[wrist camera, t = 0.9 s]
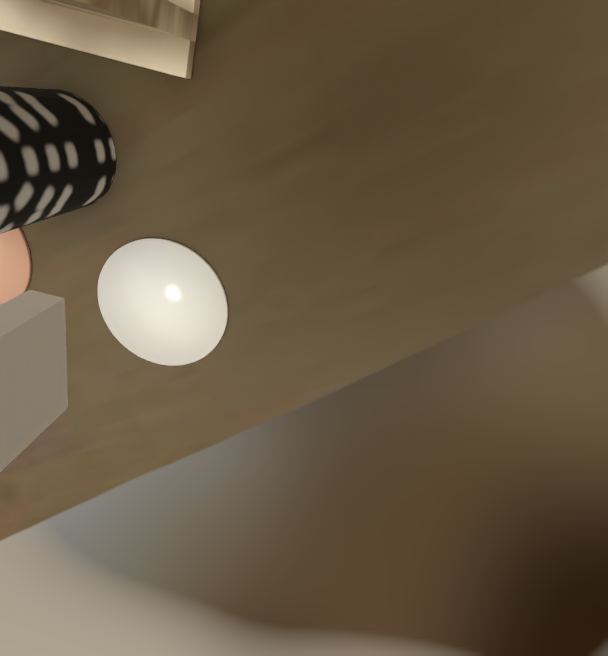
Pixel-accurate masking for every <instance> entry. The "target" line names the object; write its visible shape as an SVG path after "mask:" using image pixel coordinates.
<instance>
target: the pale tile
mask: <svg viewBox="0 0 608 656" xmlns="http://www.w3.org/2000/svg"><path fill="white" fill-rule="evenodd" d="M98 301H99V306H100V310H101V313H102V316H103V318H104V320H105V322H106V324H107V326H108V328H109V329H110V331H111V332H112V334H113V335H114V336H115V337H116V338H117V339H118V341H119V342H120V343H121V344H123V345H124V346H125V347H126V348H127V349H128V350H130V351H131V352H133V353H134V354H136V355H137V356H139V357H141V358H143V359H145V360H148V361H151V362H154V363H158V364H162V365H185V364H189V363H192V362H195V361H197V360H200V359H201V358H203V357H205V356H206V355H207V354H209V353H210V352H211V351H212V350H213V349H214V348H215V347H216V345H217V344H218V343H219V341H220V339H221V338H222V336H223V334H224V332H225V329H226V325H227V321H228V302H227V297H226V293H225V290H224V287H223V285H222V283H221V281H220V279H219V277H218V275H217V274H216V272H215V271H214V270H213V268H212V267H211V266H210V265H209V264H208V262H207V261H206V260H205V259H204V258H202V257H201V256H200V255H199V254H198V253H196V252H195V251H193V250H192V249H190V248H189V247H187V246H185V245H182V244H180V243H178V242H175V241H172V240H168V239H163V238H144V239H139V240H135V241H133V242H130V243H128V244H126V245H124V246H122V247H121V248H119V249H118V250H117V251H115V252H114V253H113V254H112V255H111V256H110V257H109V258H108V260H107V261H106V263H105V264H104V266H103V268H102V271H101V273H100V277H99V281H98Z"/></svg>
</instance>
